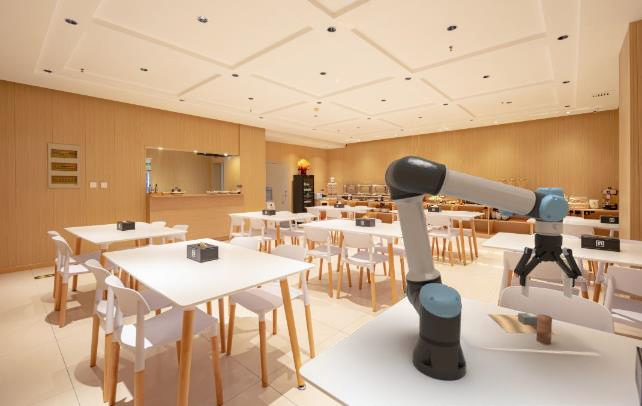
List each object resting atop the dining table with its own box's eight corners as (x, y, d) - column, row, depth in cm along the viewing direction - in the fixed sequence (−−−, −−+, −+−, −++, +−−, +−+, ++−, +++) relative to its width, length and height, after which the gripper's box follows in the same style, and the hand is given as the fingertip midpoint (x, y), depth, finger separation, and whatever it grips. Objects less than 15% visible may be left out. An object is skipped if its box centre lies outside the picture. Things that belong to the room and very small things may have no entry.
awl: (540, 348, 102) (542, 319, 102) (533, 342, 106) (534, 314, 106) (553, 348, 102) (555, 319, 101) (546, 342, 106) (547, 314, 105)
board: (506, 335, 111) (506, 332, 111) (487, 316, 127) (487, 313, 127) (559, 338, 109) (559, 334, 109) (532, 318, 125) (533, 315, 125)
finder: (523, 324, 117) (524, 316, 117) (517, 320, 121) (518, 312, 121) (540, 325, 116) (540, 317, 116) (533, 320, 120) (534, 313, 120)
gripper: (515, 235, 99) (513, 298, 100) (597, 235, 97) (594, 301, 98) (503, 231, 107) (502, 291, 108) (580, 232, 104) (577, 293, 106)
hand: (546, 296), depth 103 cm, fingers open, 13 cm apart
